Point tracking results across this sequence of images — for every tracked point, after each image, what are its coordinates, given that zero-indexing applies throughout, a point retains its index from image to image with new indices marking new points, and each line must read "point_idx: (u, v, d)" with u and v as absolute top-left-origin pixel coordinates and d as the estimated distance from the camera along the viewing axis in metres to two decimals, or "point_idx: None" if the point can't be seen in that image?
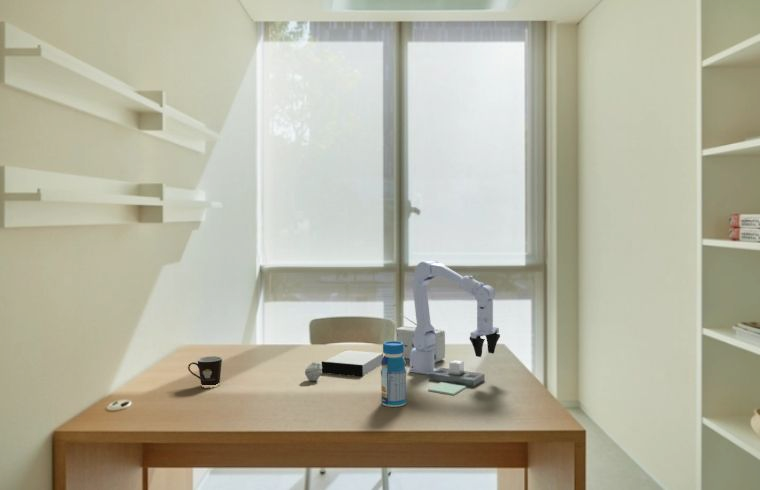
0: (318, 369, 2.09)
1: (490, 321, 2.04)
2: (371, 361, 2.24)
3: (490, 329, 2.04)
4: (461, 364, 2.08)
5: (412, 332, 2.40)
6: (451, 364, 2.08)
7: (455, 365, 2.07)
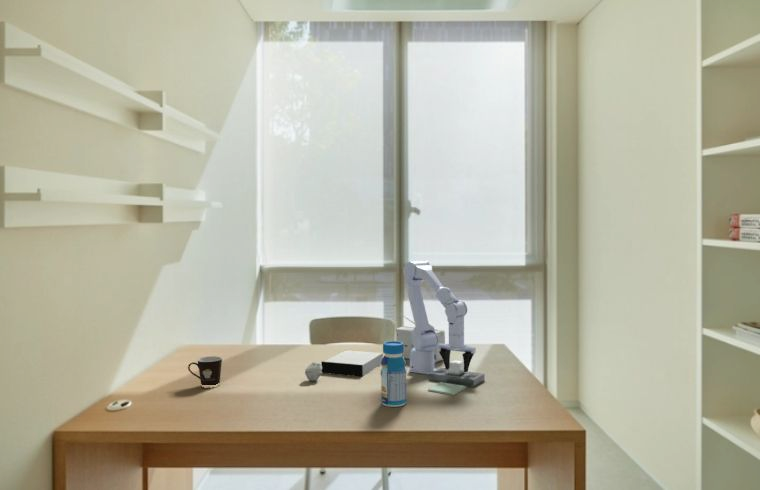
0: (318, 369, 2.09)
1: (452, 337, 2.06)
2: (371, 361, 2.25)
3: (452, 345, 2.06)
4: (461, 364, 2.08)
5: None
6: (451, 364, 2.08)
7: (455, 365, 2.07)
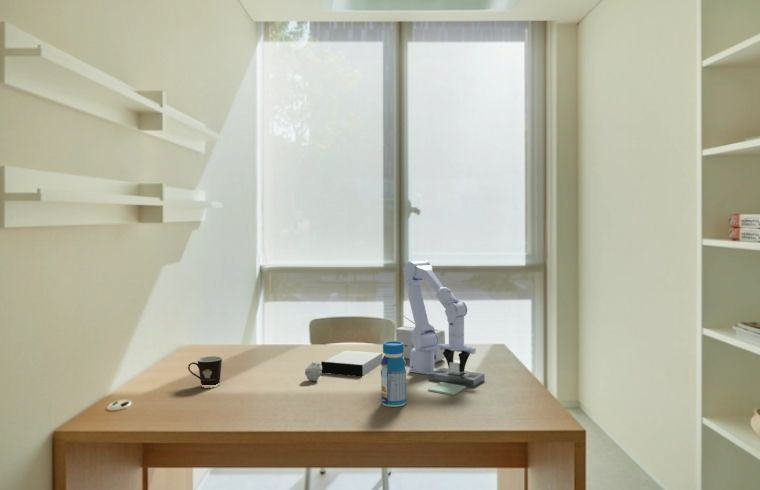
0: (318, 369, 2.09)
1: (452, 337, 2.06)
2: (371, 361, 2.25)
3: (452, 345, 2.06)
4: None
5: None
6: (451, 364, 2.08)
7: (455, 365, 2.07)
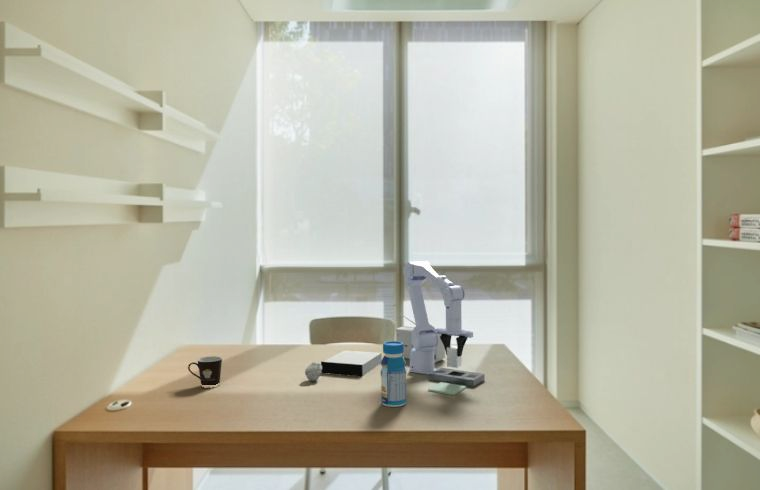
0: (318, 369, 2.09)
1: (449, 321, 2.03)
2: (370, 361, 2.25)
3: (449, 329, 2.03)
4: None
5: None
6: (448, 349, 2.04)
7: (453, 350, 2.03)
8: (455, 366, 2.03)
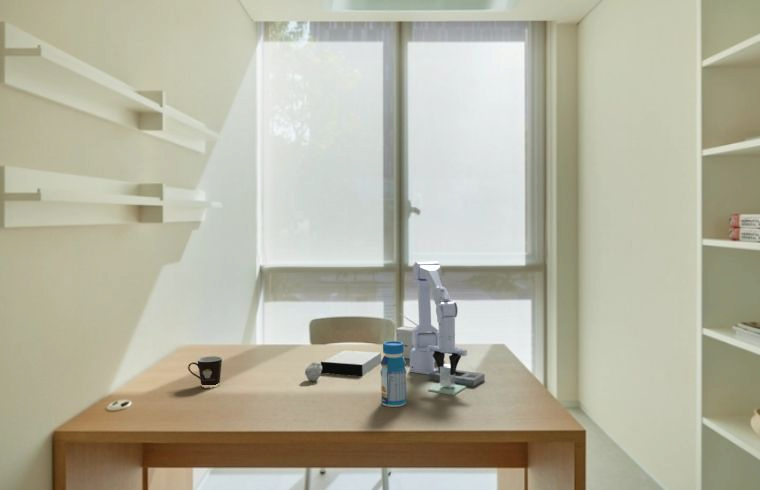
0: (318, 369, 2.09)
1: (442, 339, 1.95)
2: (370, 361, 2.25)
3: (442, 347, 1.95)
4: None
5: None
6: (442, 368, 1.97)
7: (446, 369, 1.96)
8: (448, 386, 1.96)
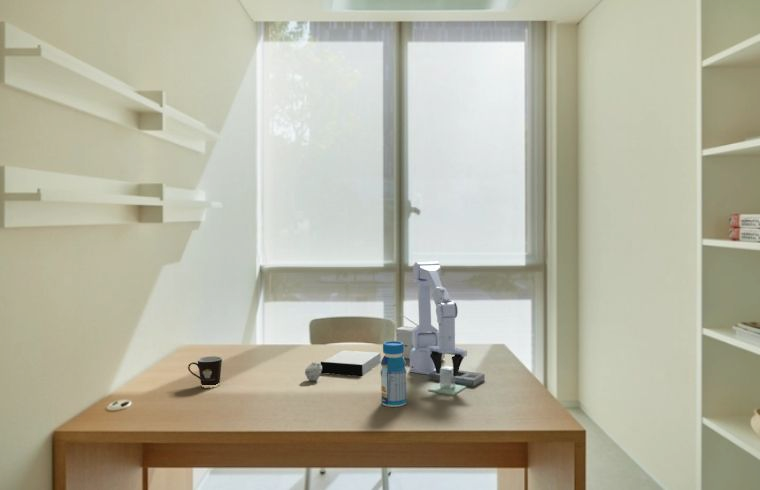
0: (318, 369, 2.09)
1: (442, 339, 1.95)
2: (370, 361, 2.25)
3: (442, 348, 1.95)
4: (452, 370, 1.97)
5: None
6: (442, 370, 1.97)
7: (446, 371, 1.96)
8: (448, 388, 1.96)
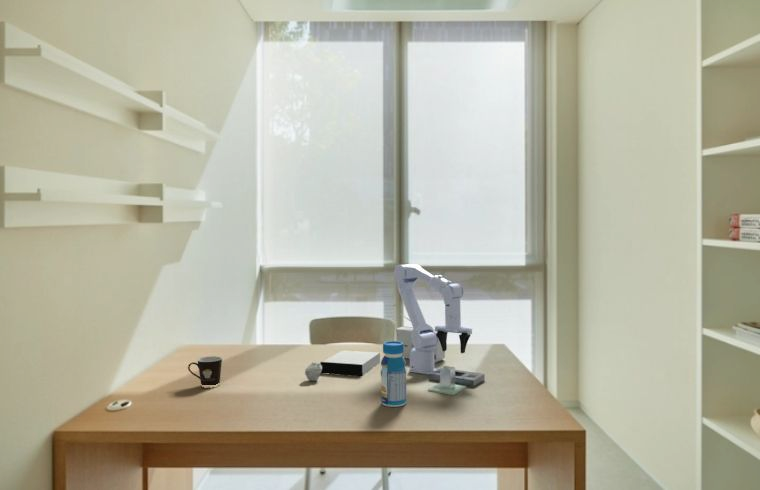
0: (318, 369, 2.09)
1: (448, 318, 2.08)
2: (369, 361, 2.25)
3: (448, 326, 2.08)
4: (452, 370, 1.97)
5: None
6: (442, 370, 1.97)
7: (446, 371, 1.96)
8: (448, 388, 1.96)
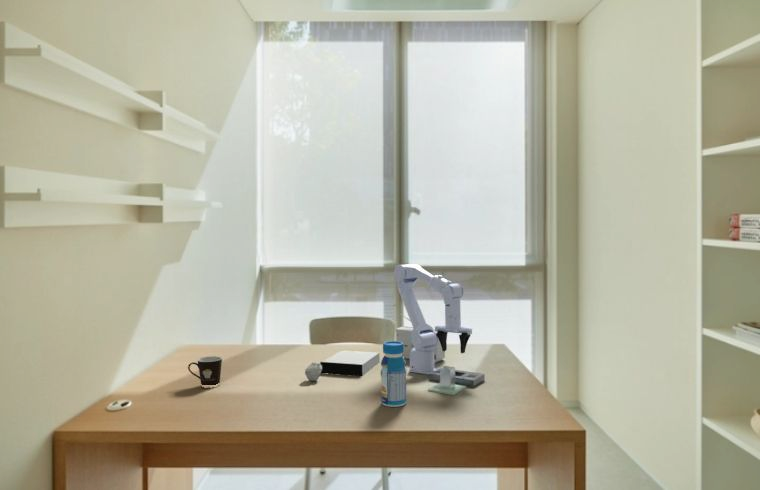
0: (318, 369, 2.09)
1: (448, 318, 2.08)
2: (369, 361, 2.25)
3: (448, 326, 2.08)
4: (452, 370, 1.97)
5: None
6: (442, 370, 1.97)
7: (446, 371, 1.96)
8: (448, 388, 1.96)
